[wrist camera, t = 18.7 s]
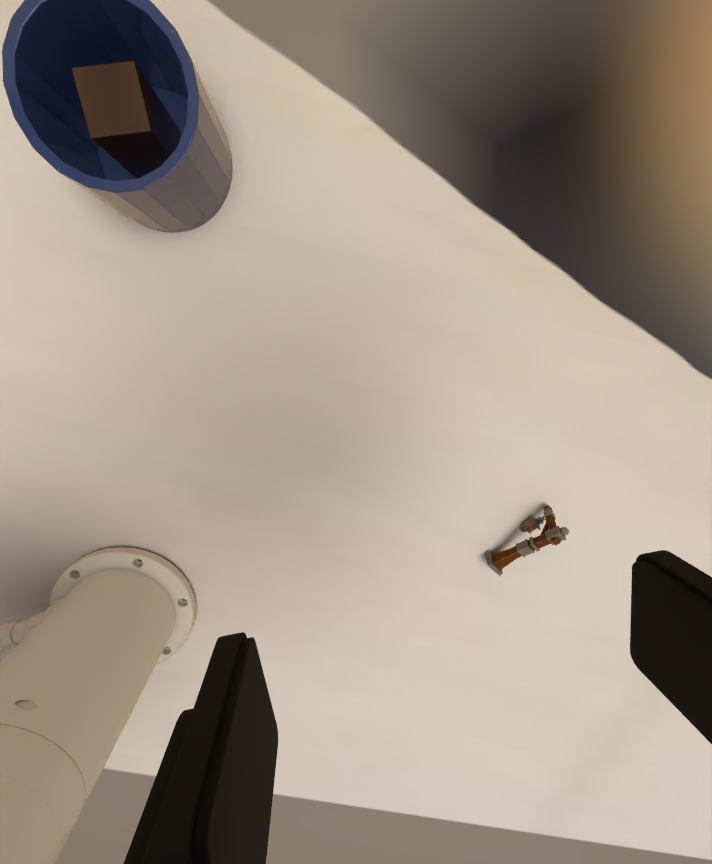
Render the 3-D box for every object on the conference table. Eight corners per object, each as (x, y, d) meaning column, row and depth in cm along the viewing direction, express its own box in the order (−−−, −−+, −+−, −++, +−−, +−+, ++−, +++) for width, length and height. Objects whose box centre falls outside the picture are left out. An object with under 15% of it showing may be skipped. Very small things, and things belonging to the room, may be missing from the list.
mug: (244, 223, 30) (217, 179, 22) (117, 240, 30) (40, 202, 22) (202, 14, 27) (151, -128, 19) (59, 30, 27) (-58, -109, 18)
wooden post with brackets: (563, 507, 38) (577, 542, 34) (494, 543, 42) (500, 578, 38) (551, 496, 37) (564, 530, 33) (483, 533, 41) (488, 567, 37)
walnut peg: (144, 186, 29) (90, 138, 22) (130, 133, 28) (70, 67, 21) (190, 180, 29) (151, 130, 22) (178, 127, 28) (134, 59, 21)
